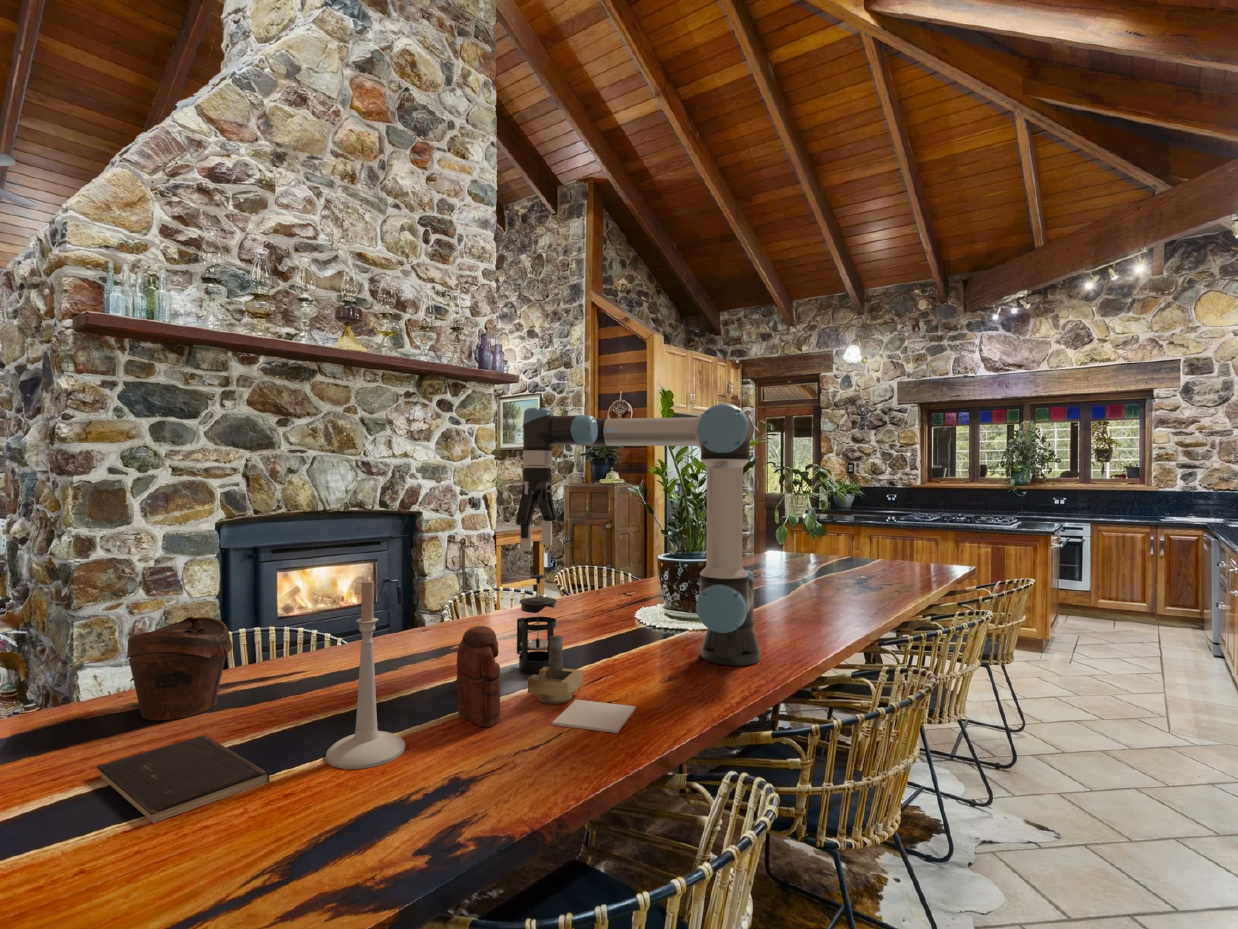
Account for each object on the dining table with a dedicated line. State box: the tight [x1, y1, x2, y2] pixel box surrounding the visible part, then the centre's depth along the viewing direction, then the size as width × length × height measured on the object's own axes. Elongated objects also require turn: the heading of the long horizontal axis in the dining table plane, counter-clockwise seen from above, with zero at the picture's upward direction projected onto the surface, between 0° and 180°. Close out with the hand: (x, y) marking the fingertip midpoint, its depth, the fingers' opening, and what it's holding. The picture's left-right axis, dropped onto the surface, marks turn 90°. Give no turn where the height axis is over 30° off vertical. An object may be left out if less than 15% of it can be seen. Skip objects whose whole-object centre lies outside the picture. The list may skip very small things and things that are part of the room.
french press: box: [516, 574, 557, 677], centre depth 163 cm, size 12×9×23 cm
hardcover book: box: [96, 734, 270, 824], centre depth 105 cm, size 16×23×2 cm
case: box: [126, 616, 233, 722], centre depth 135 cm, size 18×20×18 cm
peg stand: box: [538, 635, 574, 705], centre depth 143 cm, size 7×7×13 cm
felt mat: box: [552, 699, 636, 734], centre depth 132 cm, size 13×13×1 cm
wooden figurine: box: [456, 625, 501, 728], centre depth 131 cm, size 12×6×18 cm, turn 46°
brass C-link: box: [527, 667, 584, 698], centre depth 143 cm, size 9×9×3 cm
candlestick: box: [325, 578, 406, 770], centre depth 115 cm, size 13×13×30 cm
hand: (536, 548), depth 175 cm, fingers open, 13 cm apart
